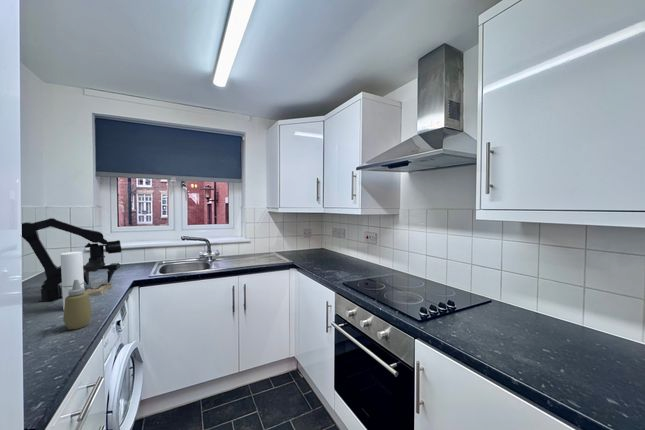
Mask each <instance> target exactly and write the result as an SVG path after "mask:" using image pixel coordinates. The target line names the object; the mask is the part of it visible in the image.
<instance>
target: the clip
mask: <svg viewBox="0 0 645 430" xmlns="http://www.w3.org/2000/svg"><path fill="white" fill-rule="evenodd" d="M105 279H106V278H105V277H102V278H101V277H99V278H96V279H94V280H93V281H91V282H90V287H92V289H99V286H103V285H104V283H106V282H105V281H106V280H105Z"/></svg>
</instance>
